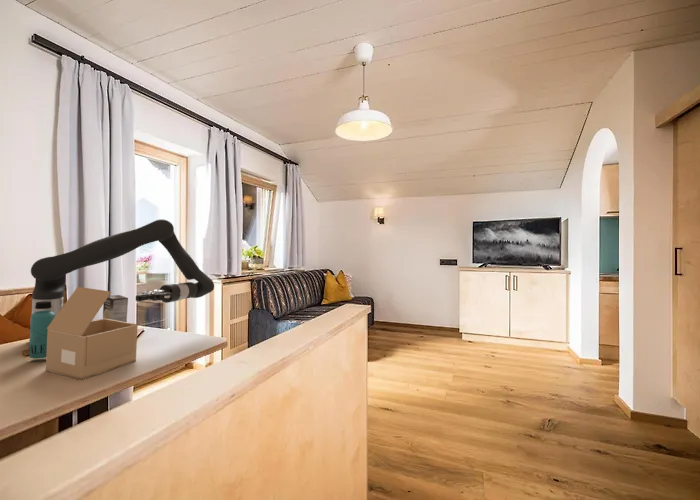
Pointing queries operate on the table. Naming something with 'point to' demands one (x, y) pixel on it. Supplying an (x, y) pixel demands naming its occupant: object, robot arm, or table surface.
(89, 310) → the carton flap
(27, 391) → the table surface
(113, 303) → the coffee box
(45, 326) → the beverage bottle
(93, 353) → the carton
